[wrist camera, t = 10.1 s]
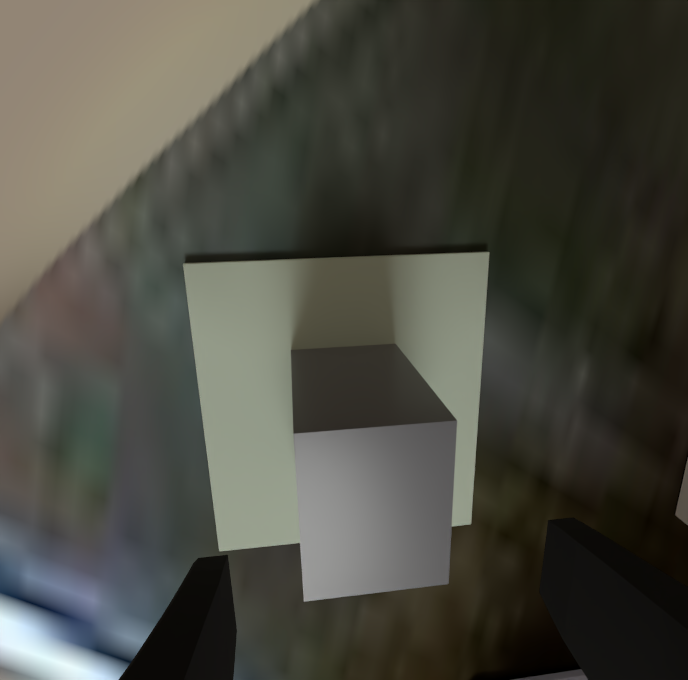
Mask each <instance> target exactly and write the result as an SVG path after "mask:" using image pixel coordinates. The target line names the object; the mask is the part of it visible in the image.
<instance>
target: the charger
mask: <svg viewBox="0 0 688 680" xmlns="http://www.w3.org/2000/svg"><path fill="white" fill-rule="evenodd" d="M291 375H292V407H293V436H294V452H295V468H296V484H297V500H298V515H299V531H300V547H301V563H302V579H303V595H304V602H305V601H313V600H321V599H329V598H337V597H345V596H354V595H362V594H370V593H378V592H386V591H394V590H403V589H411V588H419V587H427V586H435V585H444V584H448V583H449V565H450V546H451V527H452V508H453V490H454V471H455V452H456V433H457V420H456V418H455V417H454V416H453V415H452V413H451V412H450V411H449V410H448V408H447V407H446V406H445V405H444V403H443V402H442V401H441V400H440V398H439V397H438V396H437V395H436V393H435V392H434V391H433V390H432V388H431V387H430V386H429V385H428V383H427V382H426V381H425V380H424V378H423V377H422V376H421V375H420V373H419V372H418V371H417V370H416V368H415V367H414V366H413V365H412V363H411V362H410V361H409V360H408V358H407V357H406V356H405V355H404V353H403V352H402V351H401V350H400V348H399V347H398V346H397V345H396V344H382V345H365V346H349V347H332V348H315V349H299V350H291Z"/></svg>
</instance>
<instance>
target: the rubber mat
mask: <svg viewBox="0 0 688 680" xmlns="http://www.w3.org/2000/svg"><path fill="white" fill-rule="evenodd" d="M488 266H489V252H461V253H435V254H408V255H382V256H356V257H329V258H303V259H277V260H250V261H224V262H198V263H184V264H183V268H184V276H185V284H186V292H187V299H188V307H189V315H190V323H191V331H192V339H193V347H194V355H195V363H196V371H197V379H198V387H199V394H200V402H201V410H202V418H203V426H204V434H205V442H206V450H207V458H208V466H209V474H210V482H211V489H212V497H213V505H214V513H215V521H216V529H217V537H218V545H219V551H228V550H237V549H247V548H256V547H265V546H274V545H284V544H293V543H300V531H299V515H298V500H297V484H296V468H295V452H294V436H293V407H292V375H291V350H299V349H315V348H332V347H349V346H365V345H382V344H396V345H397V346H398V347H399V348H400V350H401V351H402V352H403V353H404V355H405V356H406V357H407V358H408V360H409V361H410V362H411V363H412V365H413V366H414V367H415V368H416V370H417V371H418V372H419V373H420V375H421V376H422V377H423V378H424V380H425V381H426V382H427V383H428V385H429V386H430V387H431V388H432V390H433V391H434V392H435V393H436V395H437V396H438V397H439V398H440V400H441V401H442V402H443V403H444V405H445V406H446V407H447V408H448V410H449V411H450V412H451V413H452V415H453V416H454V417H455V418H456V420H457V433H456V452H455V471H454V490H453V508H452V526H460V525H469V524H471V516H472V501H473V486H474V472H475V457H476V442H477V428H478V413H479V398H480V383H481V369H482V354H483V339H484V325H485V310H486V295H487V281H488Z"/></svg>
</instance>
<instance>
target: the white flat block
mask: <svg viewBox="0 0 688 680" xmlns="http://www.w3.org/2000/svg"><path fill="white" fill-rule="evenodd" d="M675 515H676V516H677V517H678V518H679V519H681V520H682V521H683V522H684V523H686V524H687V525H688V459H687V463H686V468H685V472H684V477H683V481H682V486H681V490H680V495H679V499H678V504H677V508H676V513H675Z"/></svg>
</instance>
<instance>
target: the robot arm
mask: <svg viewBox="0 0 688 680" xmlns="http://www.w3.org/2000/svg"><path fill="white" fill-rule="evenodd" d="M539 592H540V594H541V596H542V598H543V601H544V603H545V605H546V607H547V609H548V611H549V613H550V615H551V617H552V619H553V621H554V623H555V625H556V627H557V629H558V631H559V633H560V635H561V637H562V639H563V641H564V642H565V644H566V645H567V647H568V649H569V650H570V652H571V654H572V655H573V657H574V658H575V660H576V661H577V663H578V665H579V666H580V668H581V669H578V670H572V671H565V672H558V673H552V674H545V675H538V676H531V677H525V678H518V679H511V680H688V587H687V586H685V585H683V584H682V583H680V582H678V581H677V580H675V579H673V578H672V577H670V576H668V575H667V574H665V573H663V572H662V571H660V570H659V569H657V568H655V567H654V566H652V565H650V564H649V563H647V562H646V561H644V560H642V559H641V558H639V557H638V556H636V555H634V554H633V553H631V552H630V551H628V550H626V549H625V548H623V547H621V546H620V545H618V544H617V543H615V542H613V541H612V540H610V539H609V538H607V537H605V536H604V535H602V534H601V533H599V532H597V531H596V530H594V529H592V528H591V527H589V526H587V525H586V524H584V523H582V522H580V521H579V520H577V519H575V518H565V519H556V520H548V527H547V535H546V543H545V551H544V559H543V567H542V575H541V583H540V591H539ZM236 633H237V629H236V620H235V612H234V604H233V595H232V587H231V578H230V570H229V562H228V555H222V556H213V557H204V558H198V559H197V560H196V561H195V562H194V563H193V565H192V567H191V568H190V570H189V572H188V574H187V575H186V577H185V579H184V581H183V582H182V584H181V586H180V587H179V589H178V591H177V592H176V594H175V596H174V597H173V599H172V601H171V602H170V604H169V606H168V607H167V609H166V610H165V612H164V614H163V615H162V617H161V618H160V620H159V621H158V623H157V624H156V626H155V627H154V629H153V631H152V632H151V634H150V635H149V637H148V638H147V640H146V641H145V643H144V644H143V646H142V647H141V649H140V650H139V652H138V653H137V655H136V656H135V658H134V659H133V660H132V662H131V663H130V665H129V666H128V668H127V669H126V670H125V672H124V673H123V674H122V676H121V677H120V679H119V680H233V674H234V662H235V647H236Z"/></svg>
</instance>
